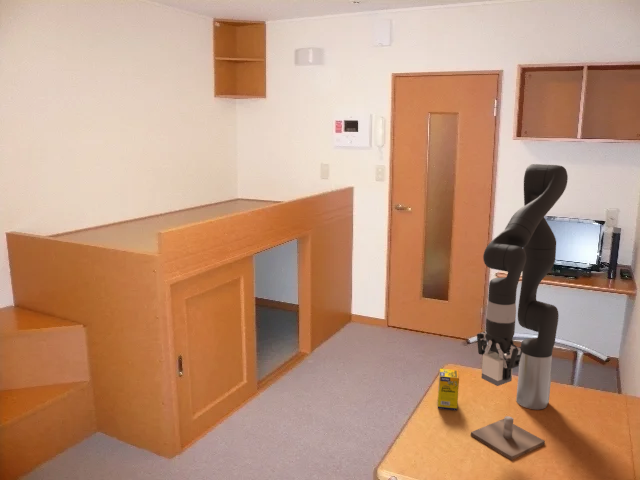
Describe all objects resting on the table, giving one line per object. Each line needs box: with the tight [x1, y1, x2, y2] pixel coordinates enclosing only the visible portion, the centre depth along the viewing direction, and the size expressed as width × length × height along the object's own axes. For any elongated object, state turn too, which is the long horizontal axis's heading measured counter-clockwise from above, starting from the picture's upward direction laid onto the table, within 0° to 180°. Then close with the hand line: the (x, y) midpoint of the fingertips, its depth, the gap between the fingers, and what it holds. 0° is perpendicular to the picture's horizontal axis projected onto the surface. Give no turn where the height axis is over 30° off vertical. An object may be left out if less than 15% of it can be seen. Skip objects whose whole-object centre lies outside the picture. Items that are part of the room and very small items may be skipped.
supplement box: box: [437, 368, 460, 412], centre depth 174 cm, size 6×6×11 cm
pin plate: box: [470, 415, 546, 461], centre depth 155 cm, size 14×14×6 cm
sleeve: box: [481, 352, 513, 387], centre depth 152 cm, size 6×6×7 cm
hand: (496, 375), depth 153 cm, fingers closed on sleeve, 5 cm apart
